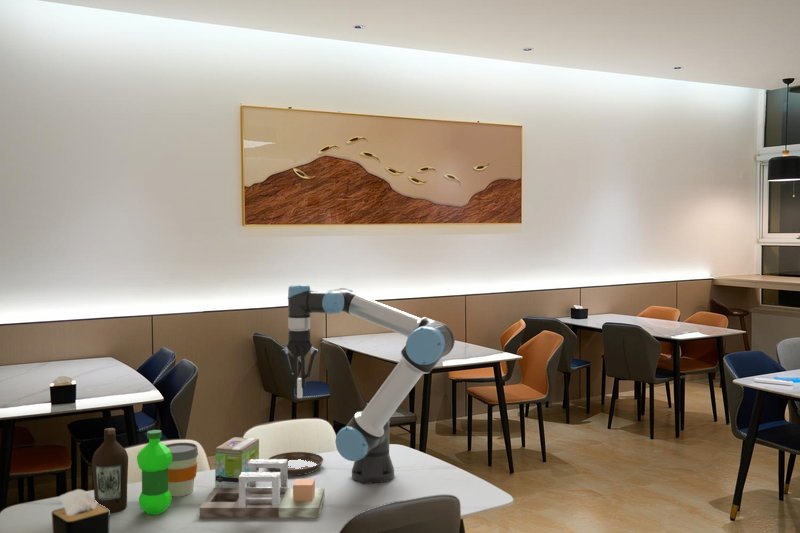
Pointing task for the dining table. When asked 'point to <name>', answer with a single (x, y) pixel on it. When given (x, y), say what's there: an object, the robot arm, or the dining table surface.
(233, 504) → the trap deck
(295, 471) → the plant saucer
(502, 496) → the dining table surface
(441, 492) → the dining table surface
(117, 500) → the olive oil
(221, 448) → the tea box
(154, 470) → the plastic bottle
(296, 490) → the terracotta block
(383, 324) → the robot arm
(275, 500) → the tunnel
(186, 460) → the reusable coffee cup
